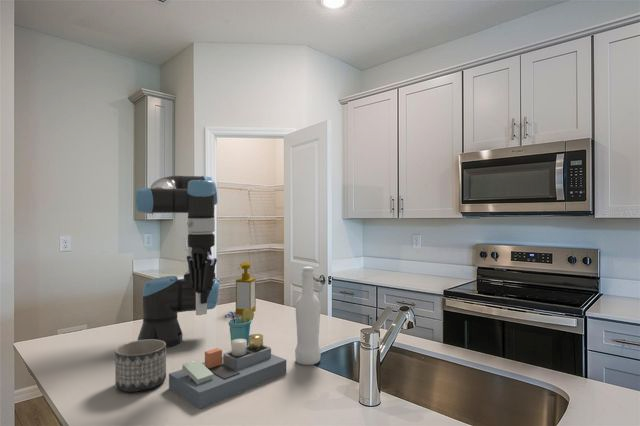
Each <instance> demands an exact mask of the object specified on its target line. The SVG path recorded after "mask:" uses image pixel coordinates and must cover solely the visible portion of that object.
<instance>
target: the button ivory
mask: <svg viewBox="0 0 640 426" xmlns="http://www.w3.org/2000/svg"><path fill="white" fill-rule="evenodd" d="M231 351H232V355H234V356H242V355H245V354H246V353H247V340H246V339H235V340H232V347H231Z"/></svg>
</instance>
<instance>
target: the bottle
mask: <svg viewBox="0 0 640 426" xmlns="http://www.w3.org/2000/svg"><path fill="white" fill-rule="evenodd" d="M314 275H315V273H314V267H313V266H303V267H302V273H301V276H302V278H301V279H302V280H301V283H302V285H301V294H300V295H299V296H298V298H297V299H296V301H295V322H296V323H295V324H296V325H295V326H296V336H297V337H296V338H297V339H296V342H297V343H296V347H295V349H294V351H295V354H294V356H295V362H296V363H297V364H300V365H303V366H312V365H313V366H314V365H315V364H316V365H317V364H318V363H319V362H320V360H321V357H322V356H321V354H322V353H321V351H322V350H321V347H320V345H319V336H320V335H319V334H320V317H321V302H320V300H319V298H318V297H317V296H316V294H315V289H314Z"/></svg>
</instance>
